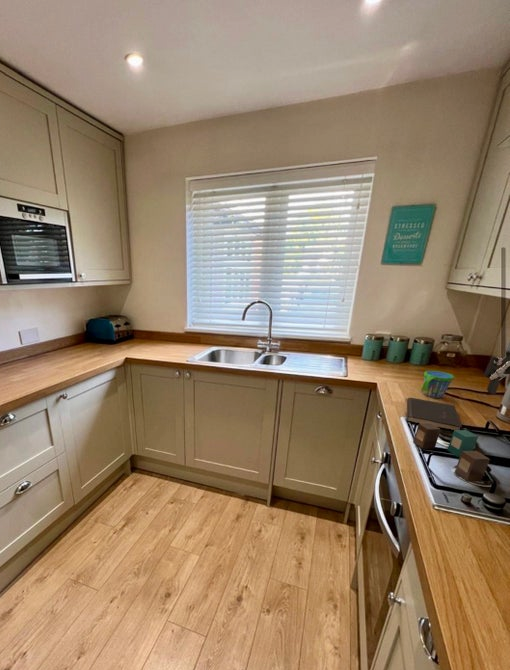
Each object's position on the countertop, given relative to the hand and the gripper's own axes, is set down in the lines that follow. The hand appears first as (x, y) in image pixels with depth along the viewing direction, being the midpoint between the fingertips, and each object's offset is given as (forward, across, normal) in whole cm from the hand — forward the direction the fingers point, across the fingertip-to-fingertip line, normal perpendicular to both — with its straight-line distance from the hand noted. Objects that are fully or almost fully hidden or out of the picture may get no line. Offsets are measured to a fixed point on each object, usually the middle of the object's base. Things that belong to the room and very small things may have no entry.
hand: (507, 396), depth 91 cm
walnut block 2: (+23, -6, +13) cm, 27 cm away
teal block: (+20, +4, +4) cm, 21 cm away
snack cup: (+7, +49, -32) cm, 59 cm away
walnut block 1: (+21, +10, +11) cm, 25 cm away
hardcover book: (+13, +31, -13) cm, 36 cm away
